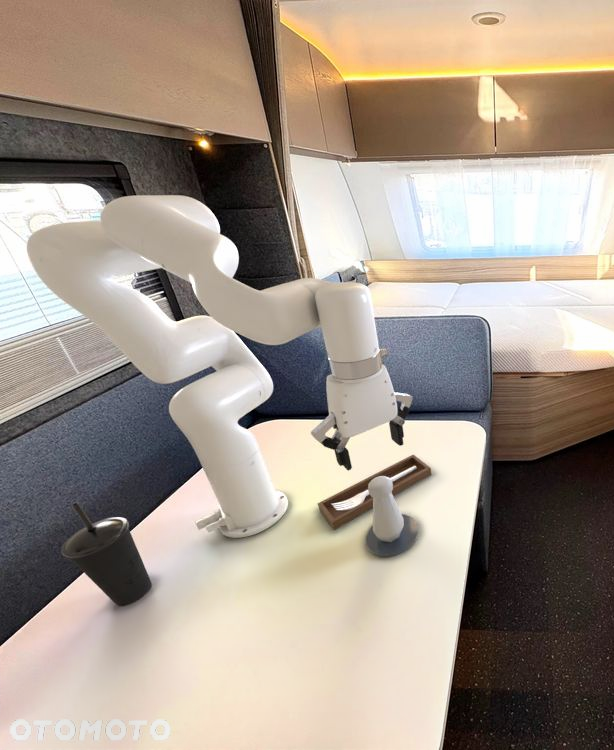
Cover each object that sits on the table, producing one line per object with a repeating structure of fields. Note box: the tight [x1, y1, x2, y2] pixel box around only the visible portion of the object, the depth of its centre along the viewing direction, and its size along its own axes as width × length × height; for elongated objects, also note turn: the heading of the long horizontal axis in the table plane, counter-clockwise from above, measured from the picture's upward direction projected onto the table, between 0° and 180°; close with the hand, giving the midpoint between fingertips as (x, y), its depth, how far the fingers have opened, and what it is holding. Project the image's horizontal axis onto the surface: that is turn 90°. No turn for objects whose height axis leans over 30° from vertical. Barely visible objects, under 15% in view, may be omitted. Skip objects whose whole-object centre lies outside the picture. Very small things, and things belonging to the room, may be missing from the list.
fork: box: [332, 466, 417, 510], centre depth 86 cm, size 3×20×2 cm, turn 134°
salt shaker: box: [368, 476, 404, 542], centre depth 72 cm, size 6×6×13 cm
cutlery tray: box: [317, 453, 432, 531], centre depth 86 cm, size 24×8×2 cm, turn 134°
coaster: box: [365, 513, 420, 558], centre depth 75 cm, size 10×10×1 cm
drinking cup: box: [60, 502, 153, 607], centre depth 62 cm, size 8×8×20 cm
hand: (373, 453), depth 67 cm, fingers open, 9 cm apart
